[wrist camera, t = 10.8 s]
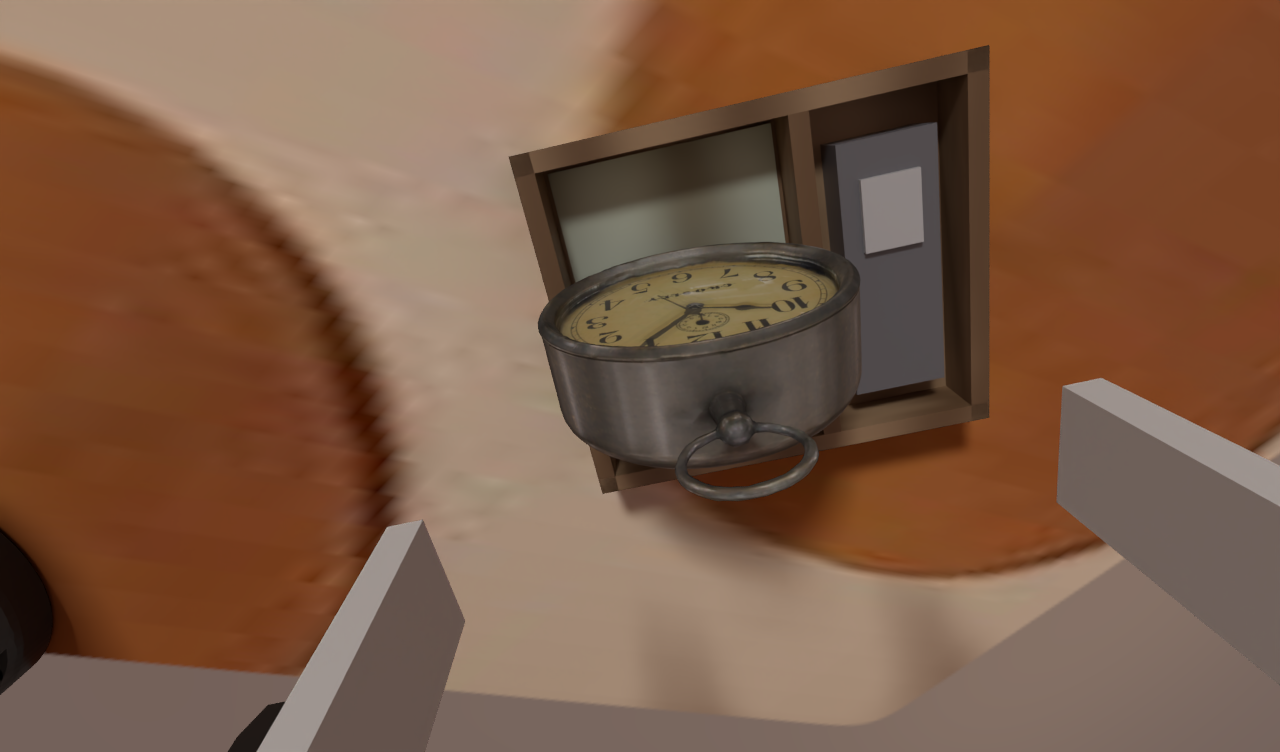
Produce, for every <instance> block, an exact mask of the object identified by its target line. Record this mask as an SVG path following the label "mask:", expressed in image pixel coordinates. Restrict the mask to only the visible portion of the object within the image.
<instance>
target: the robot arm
mask: <svg viewBox="0 0 1280 752" xmlns="http://www.w3.org/2000/svg"><path fill="white" fill-rule="evenodd" d="M1057 503H1058V504H1060V505H1061V506H1062V507H1063V508H1064V509H1066V510H1067V511H1068V512H1069V513H1071V514H1072V515H1073V516H1074V517H1075V518H1077V519H1078V520H1079V521H1080V522H1081V523H1083V524H1084V525H1085V526H1086V527H1088V528H1089V529H1090V530H1091V531H1092V532H1094V533H1095V534H1096V535H1097V536H1098V537H1100V538H1101V539H1102V540H1103V541H1105V542H1106V543H1107V544H1108V545H1109V546H1111V547H1112V548H1113V549H1114V550H1115V551H1117V552H1118V553H1119V554H1120V555H1122V556H1123V557H1124V558H1125V559H1126V560H1128V561H1129V562H1130V563H1131V564H1133V565H1134V566H1135V567H1136V568H1137V569H1139V570H1140V571H1141V572H1142V573H1143V574H1145V575H1146V576H1147V577H1149V578H1150V579H1151V580H1152V581H1153V582H1155V583H1156V584H1157V585H1158V586H1159V587H1160V588H1162V589H1163V590H1164V591H1165V592H1167V593H1168V594H1169V595H1170V596H1172V597H1173V598H1174V599H1175V600H1176V601H1177V602H1179V603H1180V604H1181V605H1182V606H1184V607H1185V608H1186V609H1187V610H1189V611H1190V612H1191V613H1192V614H1193V615H1194V616H1196V617H1197V618H1198V619H1199V620H1201V621H1202V622H1203V623H1204V624H1205V625H1207V626H1208V627H1209V628H1210V629H1212V630H1213V631H1214V632H1215V633H1216V634H1218V635H1219V636H1220V637H1221V638H1222V639H1224V640H1225V641H1226V642H1227V643H1229V644H1230V645H1231V646H1232V647H1233V648H1235V649H1236V650H1237V651H1238V652H1239V653H1241V654H1242V655H1243V656H1244V657H1246V658H1247V659H1248V660H1249V661H1251V662H1252V663H1253V664H1254V665H1255V666H1256V667H1258V668H1259V669H1260V670H1261V671H1263V672H1264V673H1265V674H1266V675H1267V676H1269V677H1270V678H1271V679H1272V680H1274V681H1275V682H1276V683H1277V684H1279V685H1280V466H1279V465H1277V464H1275V463H1273V462H1271V461H1269V460H1267V459H1265V458H1263V457H1261V456H1259V455H1257V454H1255V453H1253V452H1251V451H1249V450H1247V449H1245V448H1243V447H1241V446H1239V445H1237V444H1235V443H1233V442H1231V441H1228V440H1226V439H1224V438H1222V437H1220V436H1218V435H1216V434H1214V433H1212V432H1210V431H1208V430H1206V429H1204V428H1202V427H1200V426H1198V425H1196V424H1194V423H1192V422H1190V421H1188V420H1186V419H1184V418H1182V417H1180V416H1178V415H1176V414H1174V413H1172V412H1170V411H1168V410H1166V409H1164V408H1161V407H1159V406H1157V405H1155V404H1153V403H1151V402H1149V401H1147V400H1145V399H1143V398H1141V397H1139V396H1137V395H1135V394H1133V393H1131V392H1129V391H1127V390H1125V389H1123V388H1121V387H1119V386H1117V385H1115V384H1113V383H1111V382H1109V381H1107V380H1105V379H1103V378H1100V379H1095V380H1090V381H1085V382H1080V383H1076V384H1071V385H1066V386H1063V389H1062V408H1061V427H1060V446H1059V466H1058V485H1057ZM464 623H465V619H464V617H463V614H462V612H461V610H460V607H459V605H458V603H457V600H456V598H455V595H454V593H453V591H452V588H451V586H450V583H449V581H448V579H447V576H446V574H445V571H444V569H443V567H442V564H441V562H440V559H439V557H438V555H437V552H436V550H435V548H434V545H433V543H432V540H431V538H430V536H429V533H428V531H427V528H426V526H425V524H424V521H423V520H419V521H414V522H409V523H405V524H400V525H395V526H390V527H387V528H386V530H385V532H384V533H383V535H382V537H381V539H380V540H379V542H378V544H377V546H376V547H375V549H374V551H373V552H372V554H371V556H370V558H369V559H368V561H367V563H366V564H365V566H364V568H363V570H362V571H361V573H360V575H359V576H358V578H357V580H356V582H355V583H354V585H353V587H352V589H351V590H350V592H349V594H348V595H347V597H346V599H345V601H344V602H343V604H342V606H341V607H340V609H339V611H338V613H337V614H336V616H335V618H334V619H333V621H332V623H331V625H330V626H329V628H328V630H327V632H326V633H325V635H324V637H323V638H322V640H321V642H320V644H319V645H318V647H317V649H316V650H315V652H314V654H313V656H312V657H311V659H310V661H309V662H308V664H307V666H306V668H305V669H304V671H303V673H302V675H301V676H300V678H299V680H298V681H297V683H296V685H295V687H294V688H293V690H292V692H291V693H290V695H289V697H288V699H287V700H286V702H281V703H276V704H271V705H268V706H266V708H265V709H264V710H263V711H262V712H261V713H260V714H259V715H258V716H257V717H256V718H255V719H254V720H253V721H252V722H251V723H250V724H249V725H248V726H247V727H246V728H245V729H244V730H243V732H241V734H240V735H239V736H238V737H237V738H236V740H235V741H234V743H233V745H232V746H231V747H230V749H229V751H228V752H425V750H426V747H427V743H428V740H429V737H430V734H431V731H432V727H433V724H434V721H435V718H436V714H437V711H438V708H439V704H440V701H441V698H442V694H443V692H444V688H445V685H446V682H447V678H448V675H449V672H450V669H451V665H452V662H453V659H454V656H455V652H456V649H457V646H458V643H459V639H460V636H461V633H462V630H463V626H464ZM51 633H52V611H51V606H50V602H49V599H48V596H47V593H46V591H45V588H44V586H43V584H42V582H41V580H40V578H39V577H38V575H37V573H36V572H35V570H34V569H33V567H32V566H31V564H30V563H29V562H28V560H27V559H26V558H25V557H24V555H23V554H22V553H21V552H20V551H19V550H18V549H17V548H16V547H15V546H14V545H13V544H12V543H11V542H10V541H9V540H8V539H7V538H6V537H5V536H4V535H3V534H2V533H1V532H0V694H1V693H3V692H4V691H5V690H6V689H7V688H9V687H10V686H11V685H12V684H13V683H14V682H15V681H16V680H17V679H19V678H20V677H21V676H22V675H23V674H24V673H25V672H27V671H28V670H29V669H30V668H31V667H32V666H33V665H34V664H35V663H36V662H37V661H38V660H39V659H40V658H41V656H42V655H43V653H44V652H45V650H46V648H47V646H48V643H49V641H50V637H51Z"/></svg>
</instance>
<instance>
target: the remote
mask: <svg viewBox="0 0 1280 752" xmlns="http://www.w3.org/2000/svg"><path fill="white" fill-rule="evenodd" d="M820 149H821V159H822V170H823V180H824V190H825V201H826V211H827V221H828V232H829V242H830V251H831V252H834V253H837V254H839V255H841V256H843V257H844V258H846V259H847V260H849V261H850V262H851V263H852V264H853V265H854V266H855V267H856V268H857V270H858V272H859V275H860V312H861V354H862V374H861V379H860V383H859V386H858V389H857V391H856V394H857V395H859V394H864V393H869V392H874V391H879V390H884V389H889V388H894V387H899V386H904V385H909V384H914V383H919V382H924V381H929V380H934V379H939V378H944V377H945V376H944V342H943V308H942V273H941V239H940V205H939V170H938V136H937V122H935V123H914V124H910V125H905V126H901V127H897V128H892V129H888V130H883V131H879V132H874V133H870V134H866V135H861V136H857V137H852V138H848V139H844V140H839V141H835V142H830V143H826V144H822V145H820Z"/></svg>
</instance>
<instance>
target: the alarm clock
mask: <svg viewBox="0 0 1280 752" xmlns="http://www.w3.org/2000/svg"><path fill="white" fill-rule="evenodd" d="M538 329H539V333H540V335H541V336H542V339H543V343H544V346H545V350H546V354H547V358H548V362H549V366H550V370H551V373H552V377H553V381H554V385H555V389H556V392H557V396H558V400H559V404H560V408H561V411H562V414H563V417H564V419H565V421H566V423H567V424H568V426H569V427H570V429H571V430H572V431H573V433H574V434H575V435H576V436H577V437H579V438H580V439H581V440H582V441H584V442H585V443H586V444H588V445H589V446H590V447H592V448H594V449H596V450H598V451H600V452H602V453H604V454H606V455H608V456H610V457H613V458H616V459H619V460H622V461H626V462H630V463H633V464H638V465H643V466H649V467H655V468H666V469H675V474H676V476H677V479H678V481H679V482H680V484H681V485H682V486H683V487H684V488H685V489H687V490H688V491H690V492H692V493H694V494H696V495H699V496H701V497H704V498H707V499H711V500H715V501H742V500H749V499H754V498H759V497H764V496H768V495H770V494H773V493H776V492H778V491H781V490H784V489H786V488H788V487H791V486H792V485H794V484H795V483H797V482H799V481H800V480H801V479H803V478H804V477H805V476H807V475H808V474H809V473H810V471H811V470H812V468H813V467H814V465H815V464H816V462H817V461H818V457H819V451H818V447H817V444H816V442H815V441H814V440H813V439H812V438H811V437H812V436H814V435H815V434H817V433H819V432H820V431H822V430H823V429H824V428H826V427H827V426H828V425H830V424H831V423H832V422H833V421H834V420H836V419H837V418H838V416H839V415H840V414H841V413H842V412H843V411H844V410H845V408H846V407H847V406H848V404H849V403H850V402H851V400H852V399H853V397H854V395H855V393H856V391H857V389H858V386H859V383H860V379H861V374H862V354H861V312H860V275H859V272H858V270H857V268H856V267H855V266H854V265H853V264H852V263H851V262H850V261H849V260H847V259H846V258H844V257H843V256H841V255H839V254H837V253H834V252H831V251H828V250H825V249H822V248H818V247H813V246H807V245H801V244H793V243H779V242H745V243H729V244H715V245H705V246H699V247H692V248H686V249H680V250H675V251H670V252H665V253H661V254H656V255H651V256H647V257H643V258H640V259H636V260H633V261H630V262H626V263H623V264H620V265H616V266H613V267H611V268H609V269H605V270H603V271H601V272H599V273H596V274H593V275H591V276H588V277H586V278H584V279H582V280H580V281H578V282H576V283H574V284H572V285H570V286H568V287H567V288H565V289H564V290H562V291H561V292H560V293H558V294H557V295H556V296H555V297H554V298H552V299H551V300H550V301H549V302H548V304H547V305H546V306H545V308H544V309H543V311H542V313H541V315H540V318H539V321H538ZM799 443H801V444H802V445H803V446H804V449H805V454H804V456H803V459H802V460H801V461H800V463H799V464H797V465H796V466H795V467H794V468H792V469H791V470H790V471H789V472H787V473H786V474H783V475H781V476H779V477H776V478H774V479H771V480H768V481H764V482H761V483H757V484H754V485H751V486H747V487H720V486H712V485H709V484H705V483H703V482H701V481H699V480H696V479H694V478H693V477H691V476H690V475H689V474H688V471H687V469H700V468H714V467H721V466H728V465H733V464H738V463H743V462H748V461H752V460H756V459H760V458H763V457H767V456H770V455H773V454H775V453H778V452H781V451H783V450H786V449H788V448H790V447H793V446H795V445H797V444H799Z"/></svg>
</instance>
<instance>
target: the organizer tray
mask: <svg viewBox="0 0 1280 752" xmlns="http://www.w3.org/2000/svg"><path fill="white" fill-rule="evenodd" d="M935 122H937V136H938V170H939V205H940V239H941V273H942V308H943V342H944V376H945V377H944V378H939V379H934V380H929V381H924V382H919V383H914V384H909V385H904V386H899V387H894V388H889V389H884V390H879V391H874V392H869V393H864V394H859V395H857V394H856V393H855V395H854V397H853V399H852V400H851V402H850V403H849V404H848V406H847V407H846V408H845V410H844V411H843V412H842V413H841V414H840V415H839V416H838V418H837V419H836V420H834V421H833V422H832V423H831V424H830V425H828V426H827V427H826V428H824V429H823V430H822V431H820V432H819V433H817V434H815V435H814V436H812V437H811V438H812V439H813V440H814V441H815V442H816V444H817V447H818V451H822V450H827V449H832V448H837V447H842V446H848V445H853V444H858V443H863V442H868V441H873V440H878V439H883V438H888V437H893V436H898V435H903V434H908V433H913V432H919V431H924V430H929V429H934V428H939V427H944V426H949V425H954V424H959V423H964V422H969V421H974V420H979V419H984V418H989V45H987V46H983V47H979V48H974V49H970V50H966V51H962V52H957V53H953V54H949V55H944V56H940V57H936V58H931V59H927V60H923V61H919V62H914V63H910V64H906V65H901V66H897V67H893V68H889V69H884V70H880V71H876V72H871V73H867V74H863V75H858V76H854V77H850V78H846V79H841V80H837V81H833V82H828V83H824V84H820V85H815V86H811V87H807V88H803V89H798V90H794V91H790V92H785V93H781V94H777V95H772V96H768V97H764V98H760V99H755V100H751V101H747V102H742V103H738V104H734V105H729V106H725V107H721V108H717V109H712V110H708V111H704V112H699V113H695V114H691V115H687V116H682V117H678V118H674V119H669V120H665V121H661V122H656V123H652V124H648V125H644V126H639V127H635V128H631V129H626V130H622V131H618V132H613V133H609V134H605V135H601V136H596V137H592V138H588V139H583V140H579V141H575V142H570V143H566V144H562V145H558V146H553V147H549V148H545V149H540V150H536V151H532V152H527V153H523V154H519V155H515V156H510V157H509V160H510V163H511V167H512V170H513V174H514V178H515V181H516V185H517V188H518V192H519V196H520V199H521V203H522V206H523V210H524V213H525V217H526V221H527V224H528V228H529V231H530V235H531V239H532V242H533V246H534V249H535V253H536V257H537V260H538V264H539V267H540V271H541V274H542V278H543V282H544V285H545V289H546V292H547V296H548V300H549V301H550V300H551V299H552V298H554V297H555V296H556V295H557V294H558V293H560V292H561V291H562V290H564V289H565V288H567V287H568V286H570V285H572V284H574V283H576V282H578V281H580V280H582V279H584V278H586V277H588V276H591V275H593V274H596V273H599V272H601V271H603V270H605V269H609V268H611V267H613V266H616V265H620V264H623V263H626V262H630V261H633V260H636V259H640V258H643V257H647V256H651V255H656V254H661V253H665V252H670V251H675V250H680V249H686V248H692V247H699V246H705V245H715V244H729V243H745V242H779V243H793V244H801V245H807V246H813V247H818V248H822V249H825V250H828V251H830V242H829V232H828V221H827V211H826V201H825V190H824V180H823V170H822V159H821V149H820V145H822V144H826V143H830V142H835V141H839V140H844V139H848V138H852V137H857V136H861V135H866V134H870V133H874V132H879V131H883V130H888V129H892V128H897V127H901V126H905V125H910V124H914V123H935ZM589 447H590V446H589ZM590 450H591V454H592V457H593V461H594V465H595V468H596V472H597V475H598V479H599V483H600V486H601V490H602V493H603V494H604V493H609V492H614V491H619V490H624V489H630V488H635V487H640V486H645V485H650V484H655V483H660V482H665V481H670V480H675V479H677V476H676V474H675V469H666V468H655V467H649V466H643V465H638V464H633V463H630V462H626V461H622V460H619V459H616V458H613V457H610V456H608V455H606V454H604V453H602V452H600V451H598V450H596V449H594V448H592V447H590ZM802 454H805V449H804V446H803V445H802V444H801V443H799V444H797V445H795V446H793V447H790V448H788V449H786V450H783V451H781V452H778V453H775V454H773V455H770V456H767V457H763V458H760V459H756V460H752V461H748V462H743V463H738V464H733V465H728V466H721V467H714V468H700V469H687V471H688V474H689V475H690V476H695V475H701V474H706V473H711V472H716V471H721V470H726V469H731V468H736V467H741V466H746V465H751V464H756V463H761V462H766V461H772V460H777V459H782V458H787V457H792V456H797V455H802Z"/></svg>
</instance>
